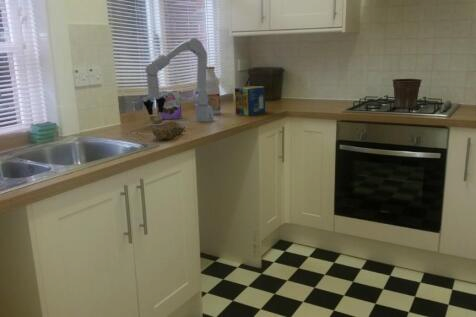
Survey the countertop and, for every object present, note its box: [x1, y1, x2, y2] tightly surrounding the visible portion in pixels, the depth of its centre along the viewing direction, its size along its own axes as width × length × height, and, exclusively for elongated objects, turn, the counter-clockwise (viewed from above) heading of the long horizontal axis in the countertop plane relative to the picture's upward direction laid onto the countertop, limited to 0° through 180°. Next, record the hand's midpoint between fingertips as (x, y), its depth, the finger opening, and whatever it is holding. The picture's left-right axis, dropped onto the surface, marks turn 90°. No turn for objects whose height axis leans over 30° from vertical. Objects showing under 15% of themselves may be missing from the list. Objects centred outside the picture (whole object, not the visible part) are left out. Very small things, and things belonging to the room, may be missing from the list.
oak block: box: [149, 114, 163, 124], centre depth 237 cm, size 4×4×4 cm
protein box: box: [234, 85, 266, 117], centre depth 264 cm, size 10×15×16 cm
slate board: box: [145, 120, 191, 127], centre depth 238 cm, size 16×18×1 cm
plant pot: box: [391, 78, 423, 110], centre depth 262 cm, size 16×16×16 cm
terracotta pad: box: [162, 119, 173, 123], centre depth 244 cm, size 6×6×1 cm
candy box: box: [154, 89, 183, 120], centre depth 255 cm, size 14×6×16 cm, turn 105°
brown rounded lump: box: [151, 121, 186, 141], centre depth 204 cm, size 13×8×20 cm
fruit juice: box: [206, 66, 221, 116], centre depth 268 cm, size 9×9×28 cm
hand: (155, 113), depth 236 cm, fingers open, 7 cm apart
